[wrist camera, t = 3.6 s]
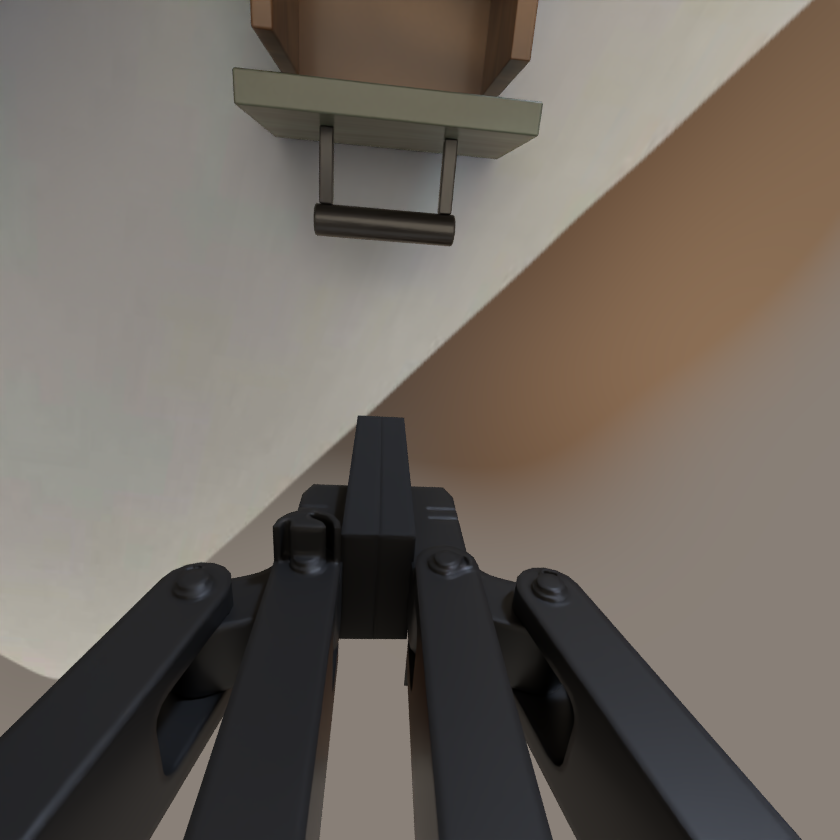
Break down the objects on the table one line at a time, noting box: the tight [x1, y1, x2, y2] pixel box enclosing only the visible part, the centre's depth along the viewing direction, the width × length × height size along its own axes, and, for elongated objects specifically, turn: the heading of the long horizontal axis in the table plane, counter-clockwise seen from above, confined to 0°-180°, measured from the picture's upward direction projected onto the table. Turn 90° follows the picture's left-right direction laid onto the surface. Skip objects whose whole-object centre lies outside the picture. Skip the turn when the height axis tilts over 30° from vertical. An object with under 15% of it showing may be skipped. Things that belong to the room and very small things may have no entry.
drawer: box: [232, 0, 543, 246], centre depth 21 cm, size 18×12×7 cm, turn 175°
